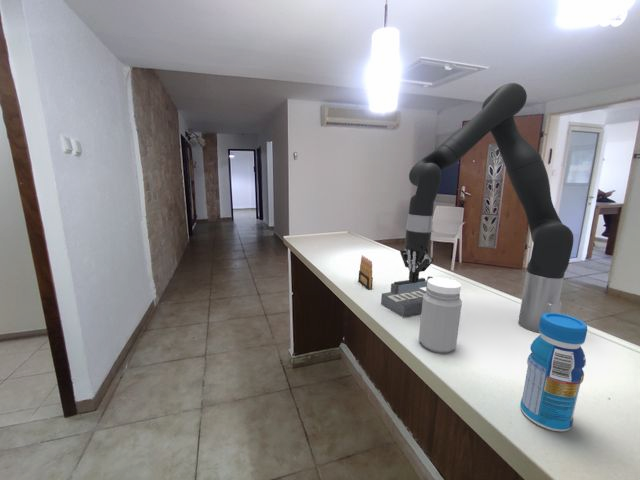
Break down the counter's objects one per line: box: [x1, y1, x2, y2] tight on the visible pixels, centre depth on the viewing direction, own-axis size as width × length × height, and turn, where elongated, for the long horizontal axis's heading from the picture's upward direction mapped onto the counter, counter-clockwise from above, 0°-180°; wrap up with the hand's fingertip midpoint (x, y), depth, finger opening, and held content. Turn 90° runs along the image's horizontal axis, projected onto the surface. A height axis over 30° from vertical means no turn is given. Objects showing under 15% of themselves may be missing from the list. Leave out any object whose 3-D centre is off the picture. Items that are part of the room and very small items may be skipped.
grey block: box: [380, 275, 434, 319], centre depth 109 cm, size 12×18×10 cm
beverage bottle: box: [519, 313, 588, 432], centre depth 58 cm, size 8×8×20 cm
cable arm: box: [390, 277, 427, 294], centre depth 108 cm, size 2×15×4 cm, turn 116°
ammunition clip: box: [357, 255, 374, 291], centre depth 130 cm, size 11×2×12 cm, turn 15°
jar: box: [418, 276, 463, 354], centre depth 83 cm, size 10×10×18 cm
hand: (413, 282), depth 100 cm, fingers closed
